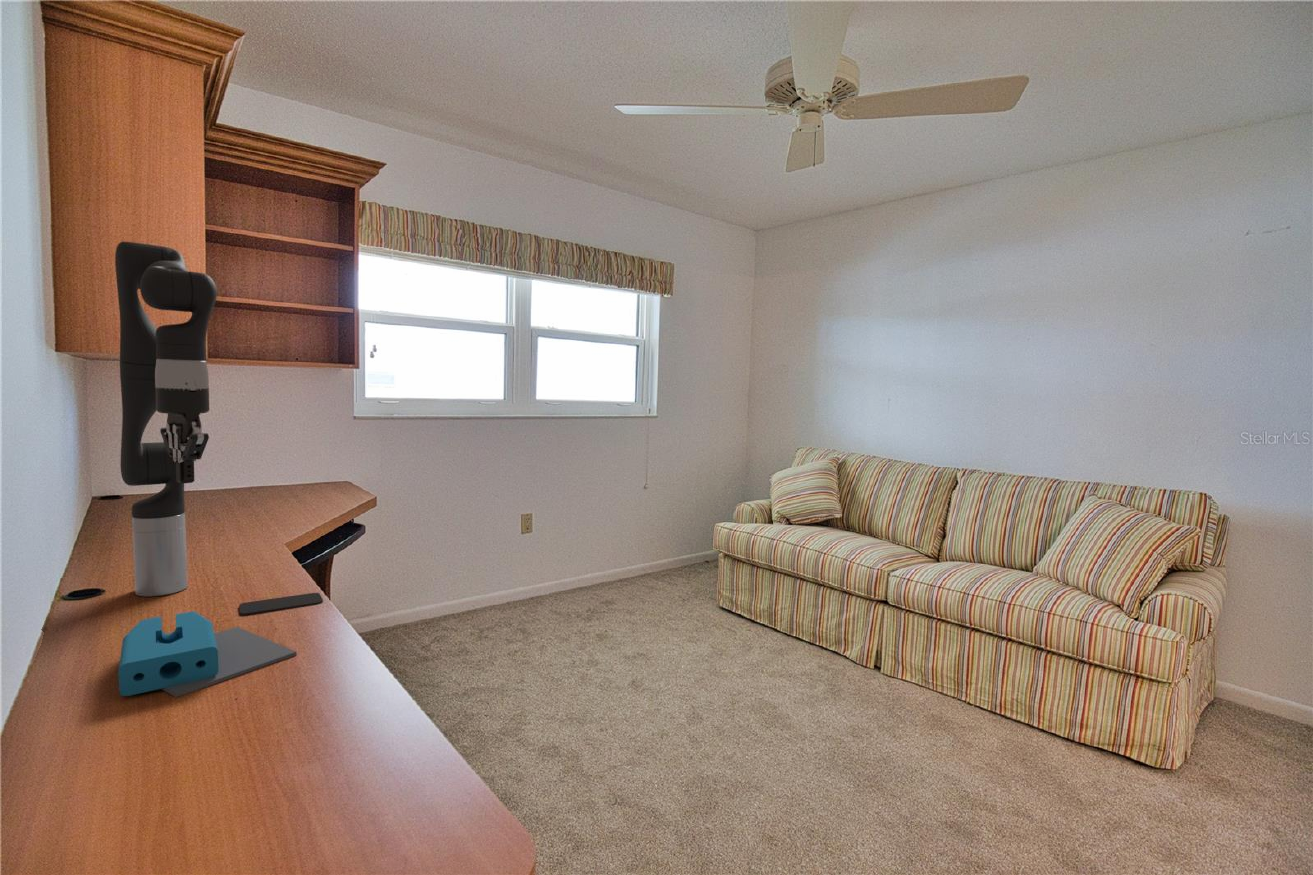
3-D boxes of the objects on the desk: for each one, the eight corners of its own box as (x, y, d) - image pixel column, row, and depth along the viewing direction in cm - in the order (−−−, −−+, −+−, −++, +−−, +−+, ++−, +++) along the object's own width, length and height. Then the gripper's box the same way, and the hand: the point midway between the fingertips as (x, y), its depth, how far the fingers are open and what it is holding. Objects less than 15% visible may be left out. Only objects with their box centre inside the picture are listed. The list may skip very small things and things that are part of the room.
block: (125, 650, 108) (119, 697, 92) (124, 622, 107) (118, 665, 92) (210, 634, 115) (218, 675, 100) (209, 608, 115) (217, 645, 99)
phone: (323, 601, 134) (240, 614, 126) (323, 605, 134) (240, 618, 126) (319, 591, 140) (238, 603, 132) (319, 595, 141) (238, 607, 132)
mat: (119, 664, 104) (119, 661, 104) (237, 629, 119) (237, 626, 119) (175, 697, 94) (175, 693, 94) (296, 654, 109) (296, 651, 109)
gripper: (140, 383, 110) (143, 480, 112) (175, 387, 103) (178, 490, 105) (189, 383, 117) (192, 475, 118) (225, 387, 110) (227, 484, 112)
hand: (185, 482), depth 112 cm, fingers closed
